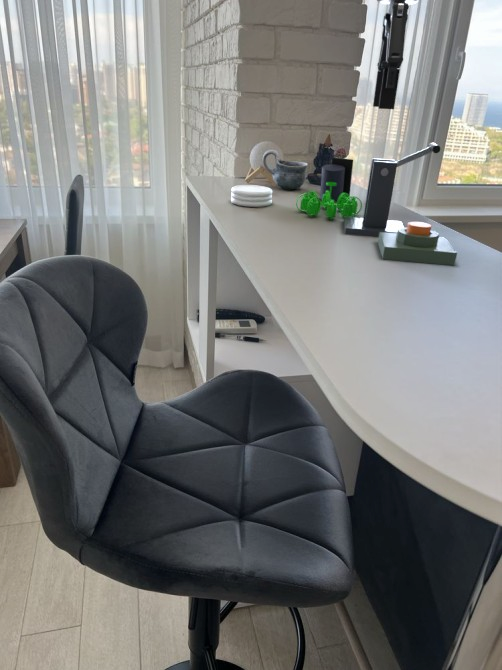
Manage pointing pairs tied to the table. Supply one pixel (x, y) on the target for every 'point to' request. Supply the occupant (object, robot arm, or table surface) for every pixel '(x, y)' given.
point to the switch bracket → (376, 202)
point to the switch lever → (419, 154)
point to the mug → (286, 172)
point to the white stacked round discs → (251, 195)
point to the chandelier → (329, 204)
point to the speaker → (337, 177)
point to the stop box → (416, 247)
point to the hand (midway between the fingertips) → (382, 108)
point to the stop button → (418, 228)
